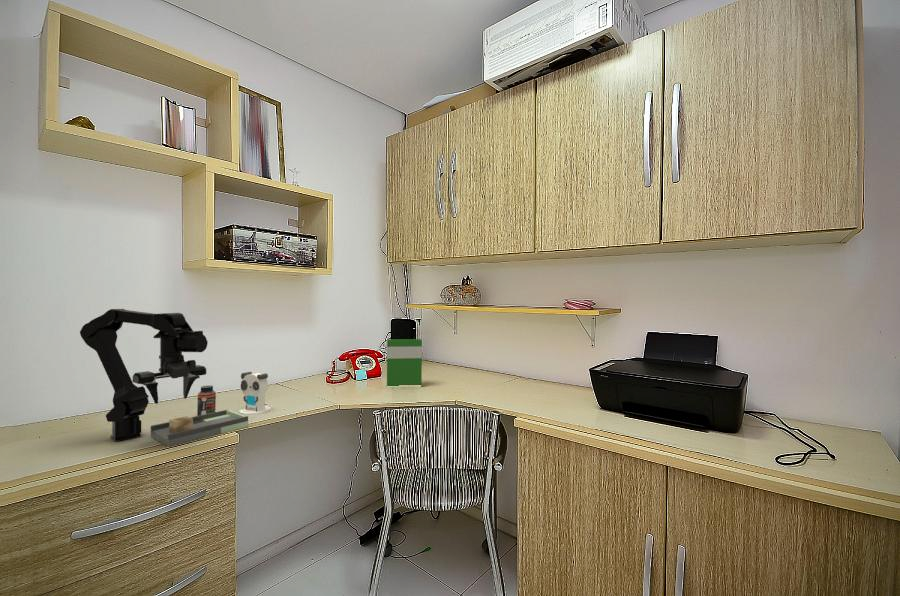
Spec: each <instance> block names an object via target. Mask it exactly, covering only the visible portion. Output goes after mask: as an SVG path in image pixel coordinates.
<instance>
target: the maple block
mask: <svg viewBox="0 0 900 596" xmlns="http://www.w3.org/2000/svg"><path fill="white" fill-rule="evenodd" d="M168 422H169V431H171V432H173V433H176V432H181V431H185V430H189V429H193V419H192V418H190V416H182V417H176V418H173V419H169V421H168Z"/></svg>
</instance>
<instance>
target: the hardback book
mask: <svg viewBox="0 0 900 596" xmlns="http://www.w3.org/2000/svg"><path fill="white" fill-rule="evenodd" d="M386 346H387V347H386V387H387V386H399V385H423V384H422V380H423V379H422V377H423V376H422V374H423V373H422V372H423V371H422V369H423V368H422V367H423V366H422V363H423V362H422V361H423V358H422V357H423V340H422V338H415V339H414V338H411V339H410V338H409V339H408V338H407V339H406V338H405V339H404V338H403V339H400V338H399V339H397V338H396V339H387V341H386Z"/></svg>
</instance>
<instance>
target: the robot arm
mask: <svg viewBox="0 0 900 596" xmlns="http://www.w3.org/2000/svg"><path fill="white" fill-rule="evenodd" d="M124 323H127V324H134V325H140V326H141V325H142V326H147V327H148V326H149V327H151V328H153V329H154V330H157V331H158V332H157V333H156V334H154V335H153V339H160V340H159V341H160V342H159V343H160V344H159V347H160V348H159V351H160V352H159V353H160V354H159V355H158V359H159V360H160V361H159V363H160V364H159V366H160V367H159V368H158V372H152V371H148V370H147V371H139V372H134V373H133V375H132V378H131V376H130V374H129V371H128V369H127V367H126V364H125V362H124V361H123V359H122V356H121V354H120V353H119V350H118V347H117V346H116V343H117V340H118V333H117V332H118V330H120V329H121V328H122V327H123V324H124ZM203 331H204V330H196V331H195V330H193V328H192V327H191V325H190V324H189V323H188V322H187V319H186V317H185V316H184V313H180V312H167V313H153V312H152V313H151V312H145V311H136V310H130V309H125V308H110V309H108V310H106V312H104V313H103V314H101V315H100V316H97V317H95V318H93V319H91V320H90V321H89V322H87V323H85V324H84V325H82V327H81V329H80V330H79V334H80V336H81V338H82V341H83V342H84V343H85V345H87V346H88V347H89V348H91V349H92V350H94V351H95V352H96V353H97V355H98V358H99V361H100V362H101V364H102V367H103V369H104V371H105V373H106V375H107V378H108V380H109V381H110V384H111V386H112V388H113V391H114V393H113V397H112V404H113V406H112V407H113V408H111V409H110V410H109V411H108V412H107V413H106V414H105V418H106V421H107V422H108V423H110V422H111V423H112V429H111V435H110V437H109V438H110V439H112V440H113V441H114V442H122V441H125V440H129V439H133V438H134V439H135V438H139V437H141V436H142V434H141V433H142V420H141V419H140V416H142V415H144V414H145V412H146V408H147V407H148V405H149V402H150V401H149V397H150V396H151V397H152V400H153V402H154V404H156V405H157V404H159V394H158V385H159V382H158V381H156V379H157V380H158V379H163V378H164V379H165V378H171V379H179V378H183V379H182V381H183V382H182V385H183V387H182V389H183V390H182V393H183V394H182V395H183V399H187V398H188V395H189V394H190V390H191V388H192V385H193V384H194V382H195V381H196V380H198V379H200V378H201V376H206V375H207V367H206V366H204V365H200V364H196V363H197V362H196V360H195V359H189V360H187V361H185V356H184V354H183V353H203V352H205V351H206V349H207V348H208V343H209V342H208V341H209V340H207V337H206V336H205V335H204V332H203ZM134 383H135V384H137V385H141V386H137V385H135V384H134ZM145 387H146V388H145ZM146 389H147V391H148V392H149V394H150V396H149V395H148V393H147V391H146Z"/></svg>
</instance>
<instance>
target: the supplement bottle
mask: <svg viewBox="0 0 900 596" xmlns="http://www.w3.org/2000/svg"><path fill="white" fill-rule="evenodd" d="M216 394H217V393H216V391H215V390H214V385H201V386H200V392H198V394H197V407H196V408H197V411H196V412H197V414H196V416H199V415H204V414H209V413H214V412H216V409H217V408H216V401H217V400H216V399H217V395H216Z"/></svg>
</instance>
